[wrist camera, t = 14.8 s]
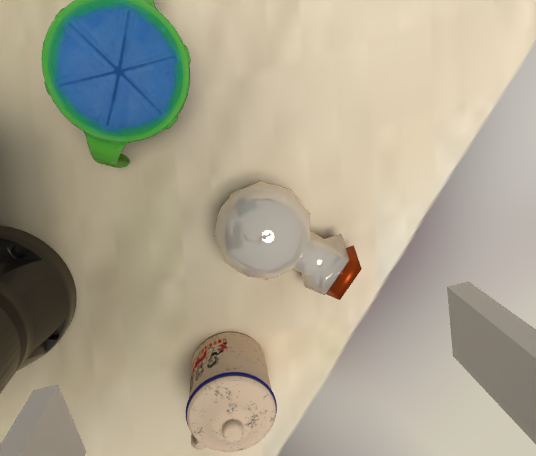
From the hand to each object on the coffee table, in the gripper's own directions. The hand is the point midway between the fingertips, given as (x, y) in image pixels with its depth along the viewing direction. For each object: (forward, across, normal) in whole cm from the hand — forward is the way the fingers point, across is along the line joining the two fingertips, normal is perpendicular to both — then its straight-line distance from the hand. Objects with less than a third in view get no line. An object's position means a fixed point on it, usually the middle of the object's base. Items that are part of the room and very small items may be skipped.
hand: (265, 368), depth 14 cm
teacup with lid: (+33, -6, -22) cm, 40 cm away
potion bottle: (+33, +4, -6) cm, 34 cm away
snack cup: (+33, -6, +12) cm, 36 cm away
